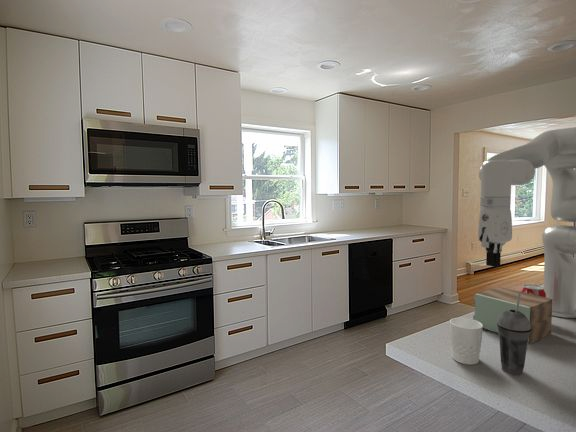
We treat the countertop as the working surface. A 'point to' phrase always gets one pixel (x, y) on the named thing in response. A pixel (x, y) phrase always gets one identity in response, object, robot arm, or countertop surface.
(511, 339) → the beverage cup
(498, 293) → the wooden storage crate
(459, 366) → the countertop surface
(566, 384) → the countertop surface
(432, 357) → the countertop surface
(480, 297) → the door
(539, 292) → the soda can
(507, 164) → the robot arm
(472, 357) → the white cup
